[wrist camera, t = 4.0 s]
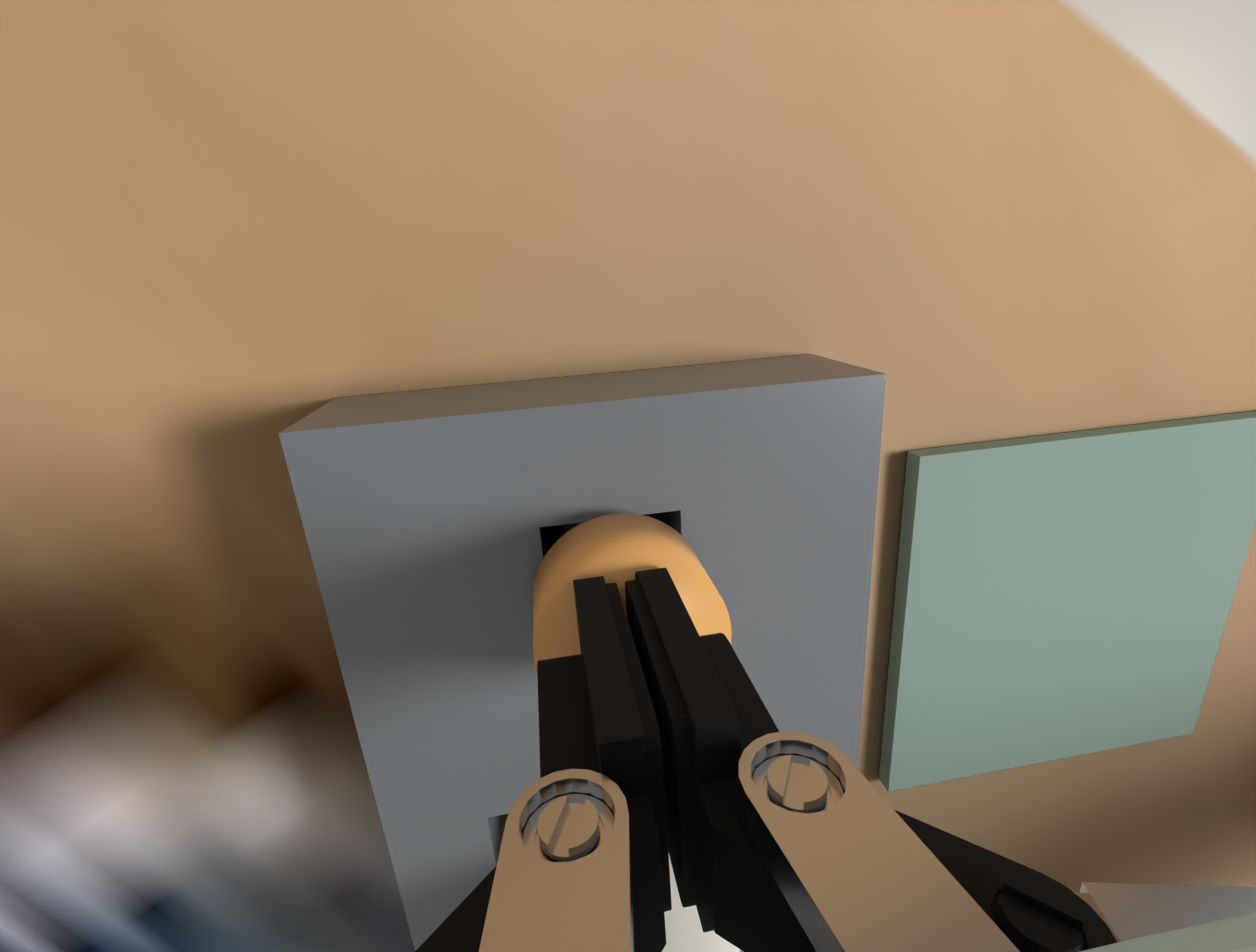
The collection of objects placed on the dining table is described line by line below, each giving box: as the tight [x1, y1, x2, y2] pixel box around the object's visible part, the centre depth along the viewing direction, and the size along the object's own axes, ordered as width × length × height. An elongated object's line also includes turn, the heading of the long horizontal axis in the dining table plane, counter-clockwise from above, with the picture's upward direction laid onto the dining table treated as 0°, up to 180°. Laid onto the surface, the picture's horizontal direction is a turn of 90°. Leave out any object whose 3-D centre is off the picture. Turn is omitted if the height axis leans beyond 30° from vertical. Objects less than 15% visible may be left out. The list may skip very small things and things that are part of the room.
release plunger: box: [533, 513, 732, 677], centre depth 13 cm, size 4×4×6 cm
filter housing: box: [279, 354, 886, 951], centre depth 16 cm, size 12×19×4 cm, turn 4°
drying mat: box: [879, 411, 1256, 792], centre depth 20 cm, size 12×12×1 cm
